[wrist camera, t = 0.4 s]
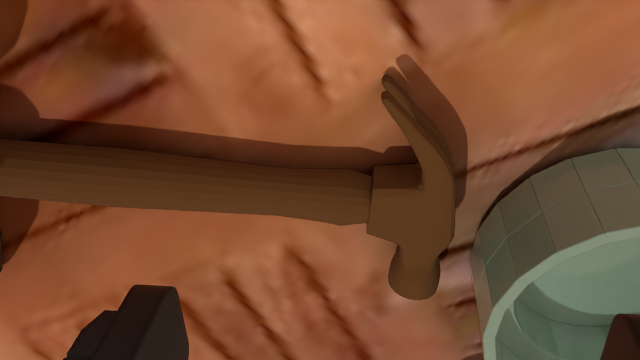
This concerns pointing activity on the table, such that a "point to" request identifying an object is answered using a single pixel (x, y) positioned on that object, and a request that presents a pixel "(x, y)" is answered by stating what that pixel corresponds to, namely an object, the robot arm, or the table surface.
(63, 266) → the table surface
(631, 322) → the robot arm
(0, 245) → the beer bottle
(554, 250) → the green round tub
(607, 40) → the table surface
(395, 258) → the hammer
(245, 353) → the table surface
